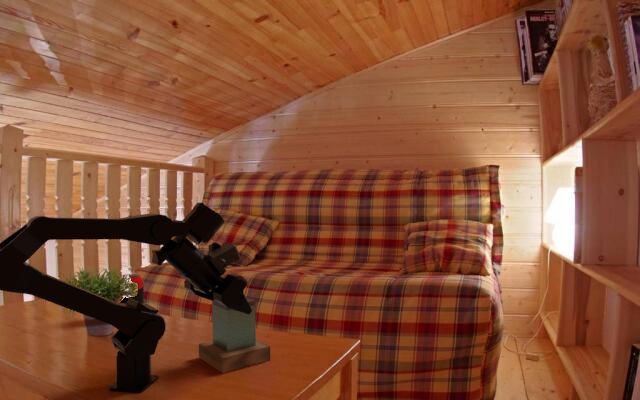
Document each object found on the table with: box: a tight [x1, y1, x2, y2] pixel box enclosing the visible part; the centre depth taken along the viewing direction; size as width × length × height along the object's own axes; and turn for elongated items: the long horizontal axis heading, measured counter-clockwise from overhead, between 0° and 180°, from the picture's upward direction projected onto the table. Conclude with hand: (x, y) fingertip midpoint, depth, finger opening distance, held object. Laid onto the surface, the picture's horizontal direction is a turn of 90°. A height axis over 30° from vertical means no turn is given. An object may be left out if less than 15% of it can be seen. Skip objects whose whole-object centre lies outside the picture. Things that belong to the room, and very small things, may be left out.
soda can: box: [120, 273, 145, 304], centre depth 130 cm, size 8×8×12 cm
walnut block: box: [198, 339, 271, 374], centre depth 97 cm, size 11×11×3 cm
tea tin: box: [211, 297, 257, 353], centre depth 97 cm, size 7×7×10 cm
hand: (239, 308), depth 98 cm, fingers open, 9 cm apart
